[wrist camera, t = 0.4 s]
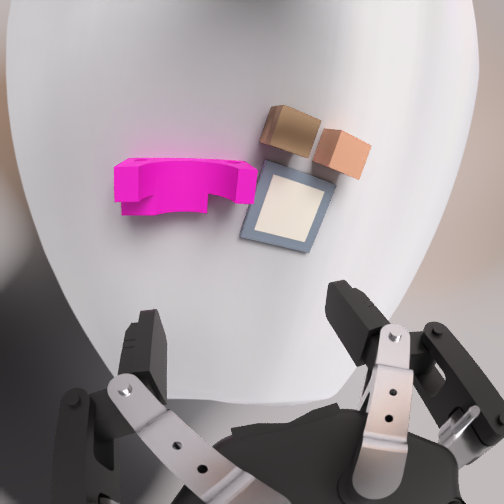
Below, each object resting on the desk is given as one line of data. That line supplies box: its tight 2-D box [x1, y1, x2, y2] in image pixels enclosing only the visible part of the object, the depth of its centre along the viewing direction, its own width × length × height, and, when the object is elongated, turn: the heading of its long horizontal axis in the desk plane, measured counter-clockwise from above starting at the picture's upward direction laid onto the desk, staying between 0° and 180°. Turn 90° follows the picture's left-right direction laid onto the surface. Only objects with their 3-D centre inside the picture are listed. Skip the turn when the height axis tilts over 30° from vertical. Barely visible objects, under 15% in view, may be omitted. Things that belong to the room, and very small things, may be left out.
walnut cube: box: [259, 105, 321, 158], centre depth 32 cm, size 5×5×5 cm
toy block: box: [114, 158, 258, 215], centre depth 31 cm, size 15×6×8 cm, turn 84°
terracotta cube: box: [313, 129, 371, 180], centre depth 34 cm, size 5×5×5 cm
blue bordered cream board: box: [240, 160, 336, 253], centre depth 38 cm, size 11×11×1 cm
